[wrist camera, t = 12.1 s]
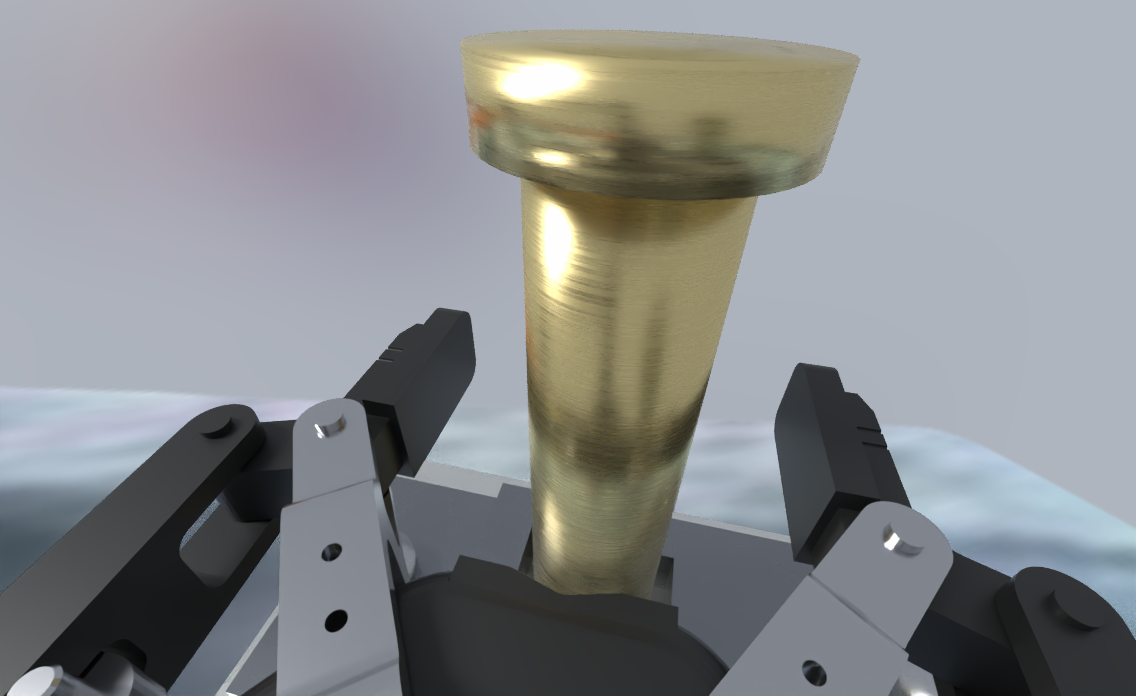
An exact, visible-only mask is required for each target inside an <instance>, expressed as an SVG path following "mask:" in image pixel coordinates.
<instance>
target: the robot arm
mask: <svg viewBox="0 0 1136 696" xmlns="http://www.w3.org/2000/svg"><path fill="white" fill-rule="evenodd" d="M475 366H476V357H475V349H474V341H473V332H472V324H471V318H470V315H469V313H468V312H465V311H458V310H452V309H445V308H438V309H436V310H435V311H434V313H433V314H432V315H431V316H430V317H429V319H428V320H427V321H426V322H425V323H424V325H423V324H415V325H414V326H412V327H411V328H409V329H407V330H406V331H404V332H402V333H400V334H399V335H398V336H397V337H396V338H395V340H394V341H393V342H392V343H391V344H390V345H389V347H388V350H387V349H386V350H385V351H384V352H383V353H382V355H381V356H380V357H379V360H376V361H375V362H374V364H373V365H372V366H371V367H370V368H369V369H368V370H367V372H366V373H365V374H364V375H363V376H362V377H361V378H360V380H359V381H358V382H357V383H356V385H354V387H353V388H352V389H351V390H350V391H349V392H348V393H347V394H346V396H345V397H344V398H338V399H331V400H327V401H323V402H321V403H318V404H316V405H314V406H312V407H310V408H309V409H308V410H306V411H305V412H304V413H303V414H301V416H300V417H299V418H298V419H297V420H287V421H273V422H260V421H259V419H258V417H257V416H256V414H255V412H254V411H253V409H251V408H250V407H248V406H245V405H240V404H230V405H223V406H219V407H216V408H213V409H210V410H208V411H205V412H203V413H201V414H200V415H198V416H196V417H195V418H193V419H192V420H190V421H189V422H188V423H187V424H186V425H185V426H184V427H182V428H181V429H180V430H179V431H178V432H177V433H176V434H175V435H174V436H173V437H172V438H170V439H169V440H168V441H167V442H166V443H165V444H164V445H163V446H162V447H161V448H160V449H158V450H157V451H156V452H155V453H154V454H153V455H152V456H151V457H150V458H149V459H148V460H146V461H145V462H144V463H143V464H142V465H141V466H140V467H139V468H138V469H137V470H136V471H134V472H133V473H132V474H131V475H130V476H129V477H128V478H127V479H126V480H125V481H124V482H122V483H121V484H120V485H119V486H118V487H117V488H116V489H115V490H114V491H113V492H112V493H110V494H109V495H108V496H107V497H106V498H105V499H104V500H103V501H102V502H101V503H100V504H98V505H97V506H96V507H95V508H94V509H93V510H92V511H91V512H90V513H89V514H88V515H86V516H85V517H84V518H83V519H82V520H81V521H80V522H79V523H78V524H77V525H76V526H74V527H73V528H72V529H71V530H70V531H69V532H68V533H67V534H66V535H65V536H64V537H62V538H61V539H60V540H59V541H58V542H57V543H56V544H55V545H54V546H53V547H52V548H50V549H49V550H48V551H47V552H46V553H45V554H44V555H43V556H42V557H41V558H40V559H38V560H37V561H36V562H35V563H34V564H33V565H32V566H31V567H30V568H29V569H28V570H26V571H25V572H24V573H23V574H22V575H21V576H20V577H19V578H18V579H17V580H16V581H14V582H13V583H12V584H11V585H10V586H9V587H8V588H7V589H6V590H5V591H4V592H2V593H1V594H0V696H168V695H167V692H168V691H169V689H170V688H171V686H172V685H173V684H174V682H175V681H176V679H177V678H178V676H179V675H180V674H181V672H182V671H183V669H184V668H185V667H186V665H187V664H188V662H189V661H190V659H191V658H192V657H193V655H194V654H195V652H196V651H197V650H198V648H199V647H200V645H201V644H202V642H203V641H204V640H205V638H206V637H207V635H208V634H209V632H210V631H211V630H212V628H213V627H214V625H215V624H216V623H217V621H218V620H219V618H220V617H221V615H222V614H223V613H224V611H225V610H226V608H227V607H228V606H229V604H230V603H231V601H232V600H233V598H234V597H235V596H236V594H237V593H238V591H239V590H240V589H241V587H242V586H243V584H244V583H245V581H246V580H247V579H248V577H249V576H250V574H251V573H252V572H253V570H254V569H255V567H256V566H257V564H258V563H259V562H260V560H261V559H262V557H263V556H264V555H265V553H266V552H267V550H268V549H269V547H270V546H271V545H272V543H273V542H274V540H275V539H276V537H277V536H278V535H279V533H280V567H279V609H278V652H277V670H276V671H275V672H274V673H272V674H271V675H269V676H268V677H266V678H265V679H263V680H262V681H261V682H259V683H258V684H256V685H255V686H253V687H252V688H251V689H249V690H248V691H246V692H245V693H243V694H242V695H240V696H888V695H889V693H890V691H891V690H892V688H893V686H894V684H895V682H896V681H897V679H898V677H899V675H900V673H901V672H902V670H903V668H904V666H905V664H906V662H907V661H909V662H911V663H912V664H914V665H916V666H918V667H920V668H922V669H923V670H925V671H927V672H929V673H931V674H932V675H933V679H934V683H935V686H936V690H937V694H938V696H1136V640H1135V638H1134V637H1133V635H1132V633H1131V632H1130V630H1129V628H1128V627H1127V625H1126V624H1125V622H1124V621H1123V619H1122V618H1121V616H1120V615H1119V614H1118V613H1117V612H1116V611H1115V609H1114V608H1113V607H1112V606H1111V605H1110V604H1109V603H1108V602H1107V601H1106V600H1104V599H1103V598H1102V597H1101V596H1100V595H1098V594H1097V593H1096V592H1095V591H1093V590H1092V589H1090V588H1089V587H1088V586H1086V585H1084V584H1083V583H1081V582H1080V581H1078V580H1076V579H1074V578H1072V577H1070V576H1068V575H1066V574H1064V573H1061V572H1059V571H1056V570H1052V569H1049V568H1044V567H1028V568H1025V569H1022V570H1021V571H1020V572H1018V573H1017V574H1016V575H1015V576H1014V577H1012V578H1011V577H1009V576H1007V575H1005V574H1002V573H1000V572H998V571H996V570H993V569H991V568H989V567H987V566H984V565H982V564H980V563H978V562H975V561H973V560H971V559H969V558H966V557H964V556H962V555H960V554H958V553H956V552H955V551H953V550H952V549H951V546H950V544H949V542H948V540H947V539H946V537H945V536H944V534H943V533H942V532H941V530H940V529H939V528H938V527H937V526H936V525H935V524H934V523H932V522H931V521H930V520H929V519H928V518H926V517H925V516H923V515H922V514H920V513H919V512H917V511H915V510H913V509H912V508H911V505H910V503H909V500H908V497H907V495H906V492H905V490H904V487H903V485H902V482H901V480H900V477H899V475H898V472H897V469H896V467H895V464H894V462H893V459H892V457H891V454H890V452H889V450H887V444H886V441H885V439H884V436H883V434H881V429H880V426H879V424H878V421H877V419H876V416H875V414H874V411H873V410H872V409H871V408H870V407H869V406H868V405H867V404H866V403H865V402H864V401H863V399H862V398H861V397H860V396H859V395H858V394H855V393H849V392H845V391H844V388H843V385H842V383H841V380H840V377H839V374H838V371H837V370H836V369H835V368H832V367H825V366H819V365H812V364H805V363H798V364H797V366H796V367H795V369H794V371H793V374H792V376H791V379H790V381H789V384H788V386H787V389H786V391H785V393H784V396H783V398H782V401H781V403H780V406H779V408H778V411H777V414H776V419H775V428H774V434H775V442H776V448H777V455H778V461H779V468H780V474H781V481H782V487H783V494H784V501H785V507H786V514H787V520H788V527H789V533H790V540H791V546H792V553H793V559H794V561H795V562H800V563H804V564H809V565H813V567H814V571H813V572H812V573H809V574H808V575H807V576H806V577H805V578H804V580H803V581H802V582H801V583H800V584H799V586H798V587H797V588H796V589H795V591H794V592H793V593H792V594H791V596H790V597H789V598H788V599H787V600H786V602H785V603H784V604H783V605H782V607H781V608H780V609H779V610H778V611H777V613H776V614H775V615H774V616H773V618H772V619H771V620H770V621H769V623H768V624H767V625H766V626H765V627H764V629H763V630H762V631H761V632H760V634H759V635H758V636H757V637H756V638H755V640H754V641H753V642H752V643H751V645H750V646H749V647H748V648H747V650H746V651H745V652H744V653H743V654H742V656H741V657H740V658H739V659H738V661H737V662H736V663H735V664H734V665H733V667H732V668H731V669H729V667H728V666H727V665H726V663H725V662H724V661H723V660H722V659H721V658H720V657H719V656H718V655H717V654H716V653H715V652H714V650H712V649H711V648H710V647H709V646H708V645H707V644H706V643H704V642H703V641H702V640H701V639H700V638H698V637H697V636H695V635H694V634H692V633H691V632H690V631H688V630H687V629H685V628H683V627H681V626H679V625H678V610H679V607H677V606H672V605H668V604H664V603H660V602H656V601H652V600H647V599H643V598H639V597H635V596H631V595H626V594H622V593H616V594H579V595H564V594H560V593H557V592H555V591H553V590H552V589H550V588H548V587H546V586H544V585H543V584H541V583H539V582H537V581H535V580H534V579H532V578H530V577H528V576H526V575H524V574H523V573H521V572H519V571H517V570H515V569H514V568H512V567H509V566H505V565H501V564H497V563H493V562H489V561H484V560H480V559H476V558H472V557H468V556H464V555H459V558H458V560H457V562H456V565H455V567H454V569H453V571H443V572H437V573H432V574H429V575H425V576H422V577H419V578H416V579H414V580H411V581H410V577H409V574H408V570H407V566H406V562H405V558H404V553H403V548H402V543H401V537H400V532H399V527H398V522H397V516H396V511H395V506H394V500H393V495H392V491H391V488H390V485H391V483H392V482H393V480H394V479H395V477H396V475H397V474H398V475H403V476H407V477H412V478H415V476H416V474H417V473H418V471H419V469H420V468H421V466H422V464H423V462H424V461H425V459H426V457H427V456H428V454H429V452H430V451H431V449H432V447H433V445H434V444H435V442H436V440H437V439H438V437H439V435H440V434H441V432H442V430H443V428H444V427H445V425H446V423H447V422H448V420H449V418H450V417H451V415H452V413H453V412H454V410H455V408H456V406H457V405H458V403H459V401H460V400H461V398H462V396H463V395H464V393H465V391H466V389H467V388H468V386H469V384H470V382H471V381H472V378H473V376H474V372H475ZM215 499H217V500H218V502H219V503H220V505H219V506H218V507H217V508H216V510H215V511H214V512H213V513H212V514H211V515H210V517H209V518H208V519H207V520H206V521H205V522H204V524H203V525H202V526H201V527H200V528H199V529H198V531H197V532H196V533H195V534H194V535H193V536H192V538H191V539H190V540H189V541H188V542H187V543H186V545H185V546H184V547H183V548H182V549H181V550H180V552H179V548H180V544H181V541H182V539H183V537H184V535H185V533H186V532H187V531H188V529H189V528H190V527H191V526H192V525H193V524H194V523H195V521H196V520H197V519H198V518H199V517H200V516H201V515H202V513H203V512H204V511H205V510H206V509H207V508H208V507H209V505H210V504H211V503H212V502H213V501H214V500H215Z"/></svg>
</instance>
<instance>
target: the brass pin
mask: <svg viewBox="0 0 1136 696" xmlns="http://www.w3.org/2000/svg"><path fill="white" fill-rule="evenodd" d="M461 53H462V63H463V74H464V85H465V96H466V106H467V117H468V128H469V139H470V146H471V148H472V150H473V152H474V153H475V154H476V155H477V156H478V157H479V158H480V159H481V160H483V161H485V162H486V163H488V164H489V165H491V166H493V167H495V168H497V169H499V170H501V171H504V172H506V173H508V174H511V175H514V176H517V177H520V178H521V203H522V234H523V262H524V293H525V323H526V352H527V353H526V354H527V384H528V414H529V444H530V474H531V504H532V534H533V564H534V580H535V581H537V582H539V583H541V584H543V585H544V586H546V587H548V588H550V589H552V590H553V591H555V592H557V593H560V594H564V595H579V594H616V593H622V594H626V595H631V596H635V597H639V598H643V599H647V600H650V596H651V593H652V589H653V585H654V582H655V578H656V574H657V570H658V567H659V563H660V559H661V555H662V552H663V548H664V544H665V541H666V537H667V533H668V529H669V526H670V522H671V518H672V515H673V511H674V507H675V503H676V500H677V496H678V492H679V489H680V485H681V481H682V477H683V474H684V470H685V466H686V463H687V459H688V455H689V451H690V448H691V444H692V440H693V437H694V433H695V429H696V425H697V422H698V418H699V414H700V410H701V407H702V403H703V399H704V396H705V392H706V388H707V384H708V381H709V377H710V373H711V369H712V366H713V362H714V358H715V355H716V351H717V347H718V344H719V340H720V336H721V332H722V328H723V325H724V321H725V317H726V314H727V310H728V306H729V303H730V299H731V295H732V292H733V288H734V284H735V280H736V277H737V273H738V269H739V265H740V262H741V258H742V254H743V251H744V247H745V243H746V239H747V236H748V232H749V228H750V225H751V221H752V217H753V213H754V210H755V206H756V202H757V198H758V196H760V195H766V194H772V193H776V192H780V191H785V190H789V189H792V188H795V187H797V186H800V185H803V184H805V183H807V182H809V181H811V180H813V179H815V177H817V176H818V175H819V174H820V173H821V172H822V170H823V167H824V164H825V162H826V159H827V156H828V153H829V150H830V147H831V144H832V141H833V138H834V135H835V132H836V129H837V126H838V123H839V120H840V117H841V114H842V111H843V109H844V106H845V103H846V100H847V96H848V94H849V91H850V88H851V85H852V82H853V79H854V76H855V73H856V70H857V67H858V64H859V61H860V58H859V57H858V56H856V55H854V54H851V53H848V52H844V51H841V50H836V49H831V48H826V47H820V46H814V45H807V44H801V43H793V42H786V41H776V40H767V39H758V38H747V37H734V36H723V35H708V34H694V33H676V32H654V31H626V30H625V31H624V30H623V31H622V30H529V31H512V32H511V31H509V32H496V33H488V34H479V35H474V36H470V37H466V38H464V39H462V40H461Z"/></svg>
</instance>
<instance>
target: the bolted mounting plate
mask: <svg viewBox="0 0 1136 696" xmlns="http://www.w3.org/2000/svg"><path fill="white" fill-rule="evenodd" d="M390 488H391V491H392V495H393V500H394V506H395V511H396V516H397V522H398V527H399V532H400V537H401V543H402V548H403V553H404V558H405V562H406V566H407V570H408V574H409V577H410V581H411V580H414V579H416V578H419V577H422V576H425V575H429V574H432V573H437V572H443V571H453V569H454V567H455V565H456V562H457V560H458V558H459V555H464V556H468V557H472V558H476V559H480V560H484V561H489V562H493V563H497V564H501V565H505V566H509V567H512V568H514V569H515V570H517V571H519V572H521V573H523V574H524V575H526V576H528V577H530V578H532V579H534V564H533V534H532V504H531V482H526V481H521V480H516V479H511V478H507V477H502V476H497V475H492V474H487V473H483V472H478V471H473V470H468V469H463V468H458V467H454V466H449V465H444V464H439V463H434V462H429V461H424V462H423V464H422V466H421V468H420V469H419V471H418V473H417V474H416V476H415V478H412V477H407V476H403V475H398V474H397V475H396V477H395V479H394V480H393V482H392V483H391V485H390ZM813 571H814V567H813V565H809V564H804V563H800V562H795V561H794V559H793V553H792V546H791V540H790V536H786V535H781V534H777V533H772V532H767V531H762V530H757V529H752V528H748V527H743V526H738V525H733V524H728V523H723V522H719V521H714V520H709V519H704V518H699V517H695V516H690V515H685V514H680V513H675V512H673V515H672V518H671V522H670V526H669V529H668V533H667V537H666V541H665V544H664V548H663V552H662V555H661V559H660V563H659V567H658V570H657V574H656V578H655V582H654V585H653V589H652V593H651V596H650V600H652V601H656V602H660V603H664V604H668V605H672V606H677V607H679V610H678V625H679V626H681V627H683V628H685V629H687V630H688V631H690V632H691V633H692V634H694V635H695V636H697V637H698V638H700V639H701V640H702V641H703V642H704V643H706V644H707V645H708V646H709V647H710V648H711V649H712V650H714V652H715V653H716V654H717V655H718V656H719V657H720V658H721V659H722V660H723V661H724V662H725V663H726V665H727V666H728V667H729V669H731V668H732V667H733V665H734V664H735V663H736V662H737V661H738V659H739V658H740V657H741V656H742V654H743V653H744V652H745V651H746V650H747V648H748V647H749V646H750V645H751V643H752V642H753V641H754V640H755V638H756V637H757V636H758V635H759V634H760V632H761V631H762V630H763V629H764V627H765V626H766V625H767V624H768V623H769V621H770V620H771V619H772V618H773V616H774V615H775V614H776V613H777V611H778V610H779V609H780V608H781V607H782V605H783V604H784V603H785V602H786V600H787V599H788V598H789V597H790V596H791V594H792V593H793V592H794V591H795V589H796V588H797V587H798V586H799V584H800V583H801V582H802V581H803V580H804V578H805V577H806V576H807V575H808V574H809V573H812V572H813ZM278 609H279V604H278V605H277V606H276V608H275V609H274V611H273V612H272V614H271V615H270V617H269V618H268V620H267V621H266V622H265V624H264V625H263V627H262V628H261V630H260V631H259V633H258V634H257V635H256V637H255V638H254V640H253V641H252V643H251V644H250V646H249V647H248V649H247V650H246V651H245V653H244V654H243V656H242V657H241V659H240V660H239V662H238V663H237V665H236V666H235V667H234V669H233V670H232V672H231V673H230V675H229V676H228V678H227V679H226V680H225V682H224V683H223V685H222V686H221V688H220V689H219V691H218V692H217V694H216V695H215V696H240V695H242V694H243V693H245V692H246V691H248V690H249V689H251V688H252V687H253V686H255V685H256V684H258V683H259V682H261V681H262V680H263V679H265V678H266V677H268V676H269V675H271V674H272V673H274V672H275V671H276V670H277V652H278ZM888 696H938V694H937V690H936V686H935V683H934V679H933V675H932V674H931V673H929V672H927V671H925V670H923V669H922V668H920V667H918V666H916V665H914V664H912V663H911V662H909V661H907V662H906V664H905V666H904V668H903V670H902V672H901V673H900V675H899V677H898V679H897V681H896V682H895V684H894V686H893V688H892V690H891V691H890V693H889V695H888Z"/></svg>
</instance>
